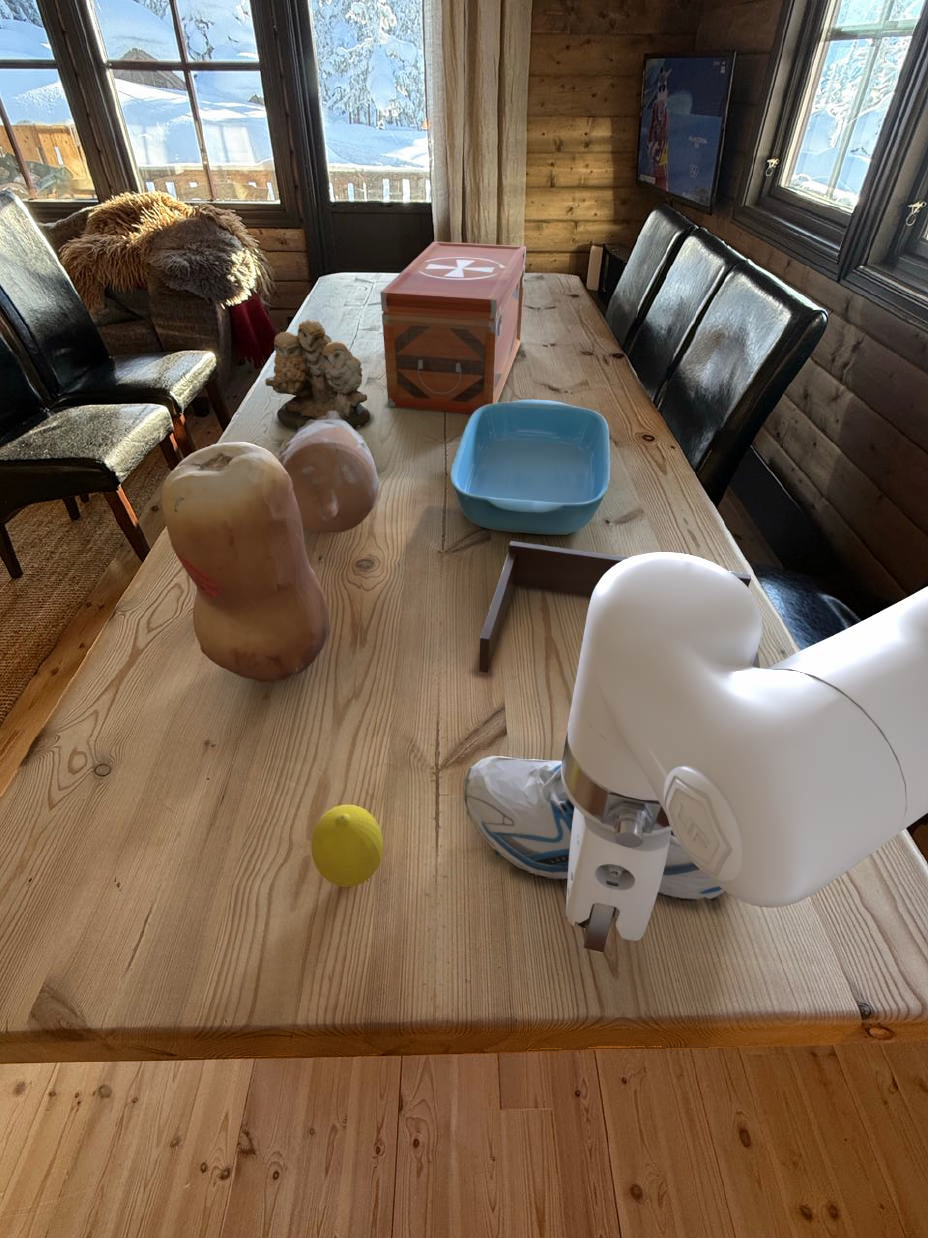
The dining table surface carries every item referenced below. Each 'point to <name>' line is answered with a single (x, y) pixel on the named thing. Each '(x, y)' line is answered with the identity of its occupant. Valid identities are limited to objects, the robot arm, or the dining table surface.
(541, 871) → the athletic shoe
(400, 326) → the wooden box
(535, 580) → the shoe rack
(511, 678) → the dining table surface
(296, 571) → the butternut squash
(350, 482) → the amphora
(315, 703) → the dining table surface
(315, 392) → the owl figurine
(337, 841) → the lemon
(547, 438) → the casserole dish
